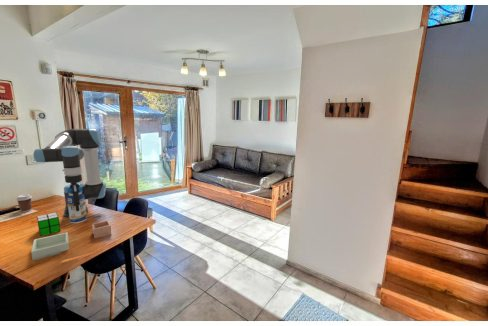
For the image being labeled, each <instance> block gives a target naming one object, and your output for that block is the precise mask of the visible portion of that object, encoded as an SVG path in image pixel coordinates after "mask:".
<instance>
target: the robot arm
mask: <svg viewBox="0 0 488 326" xmlns="http://www.w3.org/2000/svg"><path fill="white" fill-rule="evenodd" d="M100 145H102V139H101V135H100V132H99V131H98V129H96V128H69V129H66V130H62V131H60V132H59V133H57V134H56V135H55V136H54V139H53V140H52V141H51V142H50V143H48V144H47V145H46V146H45V147H44V148H36V149H34V151H33V159H34V161H35V162H36V163H55V162H56V163H58V162H62V165H63V169H62V172H64V182H65V183H66V184H67V185H65V186H64V187H63V194H64V195H63V196H64V202H65V207H64V210H63V217H65V218H69V211H68V206H67V203H68V201H67V197H68V196H69V194H68V191H67V188H68V187H70V188H71V189H72V190H73V191H72V190H71V192H72V194H73V199H74V205H73V206H74V210H75V217H78V216H81V209H80V202H79V190H78V188H79V185H80V186H82V192H81V193H82V194H83V195H84V196H85V199H84V200H85V201H86V200H94V199H97V200H98V199H103V198H104V197H105V195H106V190H107V189H106V188H107V183H106V182H104V180H103V179H102V178H101V172H100V165H99V155H98V154H99V153H98V149H99V147H100ZM78 146H79V147H78ZM82 159H84V160H83V161H84V166H85V173H86V181H85V183H84V184H83V182H82V181H83V176H82V167H81V160H82ZM86 213H87V214H88V213H89V208H88V206H87V205H86Z"/></svg>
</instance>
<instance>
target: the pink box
mask: <svg viewBox="0 0 488 326" xmlns="http://www.w3.org/2000/svg"><path fill="white" fill-rule="evenodd" d="M91 226H92V228H91V229H92V234H93V238H94V239H99V238H103V237H105V236H109V235H110V236H111V235H112V227H111V226H112V225H111V223H110V220H109V219H108V220H103V221H100V222H93V223H92V224H91Z"/></svg>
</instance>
